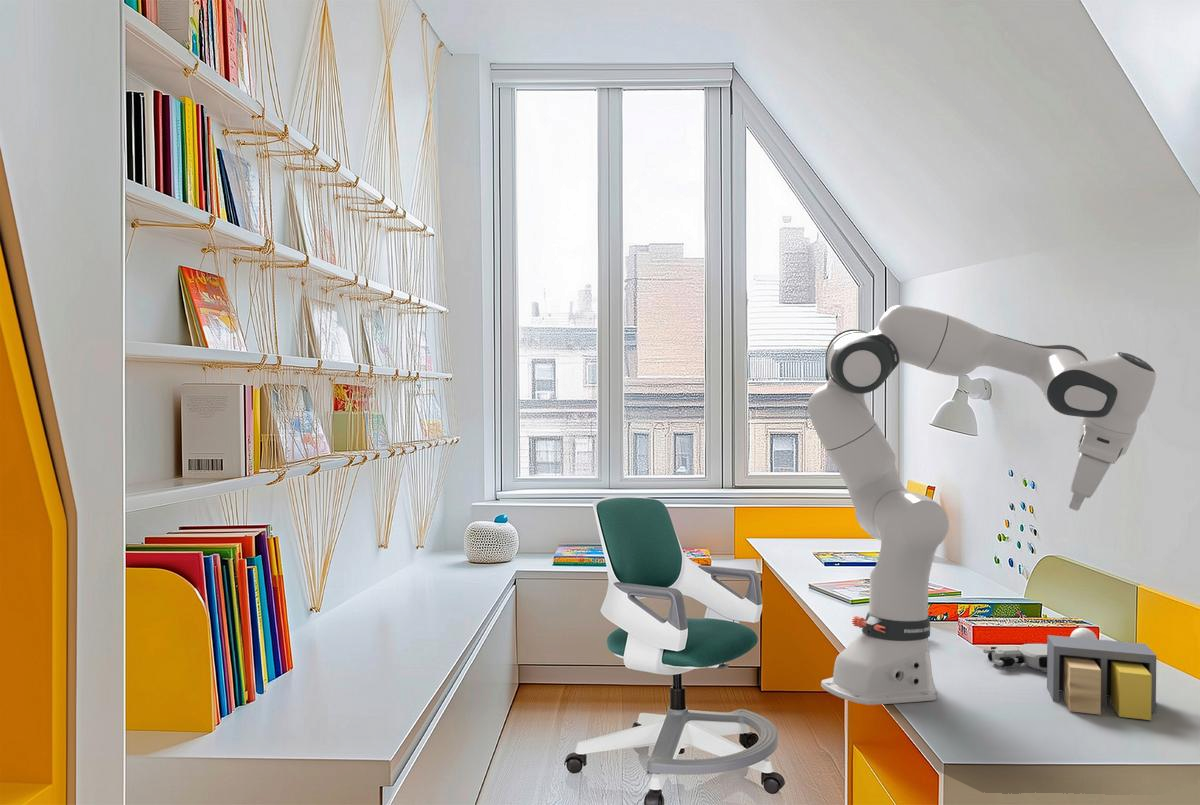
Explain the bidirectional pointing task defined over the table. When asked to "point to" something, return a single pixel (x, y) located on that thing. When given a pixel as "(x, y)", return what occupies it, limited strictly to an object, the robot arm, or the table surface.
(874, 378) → the robot arm
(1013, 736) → the table surface
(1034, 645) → the robot toy
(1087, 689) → the light wood block
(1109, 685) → the grey slotted holder
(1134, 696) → the yellow rectangular block
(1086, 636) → the white egg
